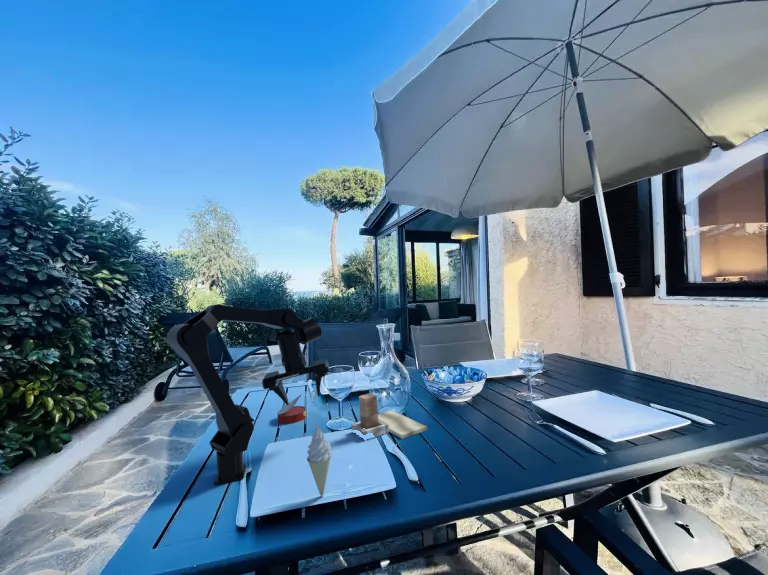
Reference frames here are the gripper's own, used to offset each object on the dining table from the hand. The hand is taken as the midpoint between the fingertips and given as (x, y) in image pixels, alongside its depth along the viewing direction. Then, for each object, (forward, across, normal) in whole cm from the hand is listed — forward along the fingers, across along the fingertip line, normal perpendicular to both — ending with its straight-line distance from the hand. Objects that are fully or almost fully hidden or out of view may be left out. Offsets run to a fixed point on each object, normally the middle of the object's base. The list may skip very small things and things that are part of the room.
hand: (303, 400), depth 97 cm
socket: (+16, -21, 0) cm, 27 cm away
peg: (+15, -17, +2) cm, 22 cm away
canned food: (+14, +9, -20) cm, 26 cm away
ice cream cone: (+9, -4, +31) cm, 32 cm away
